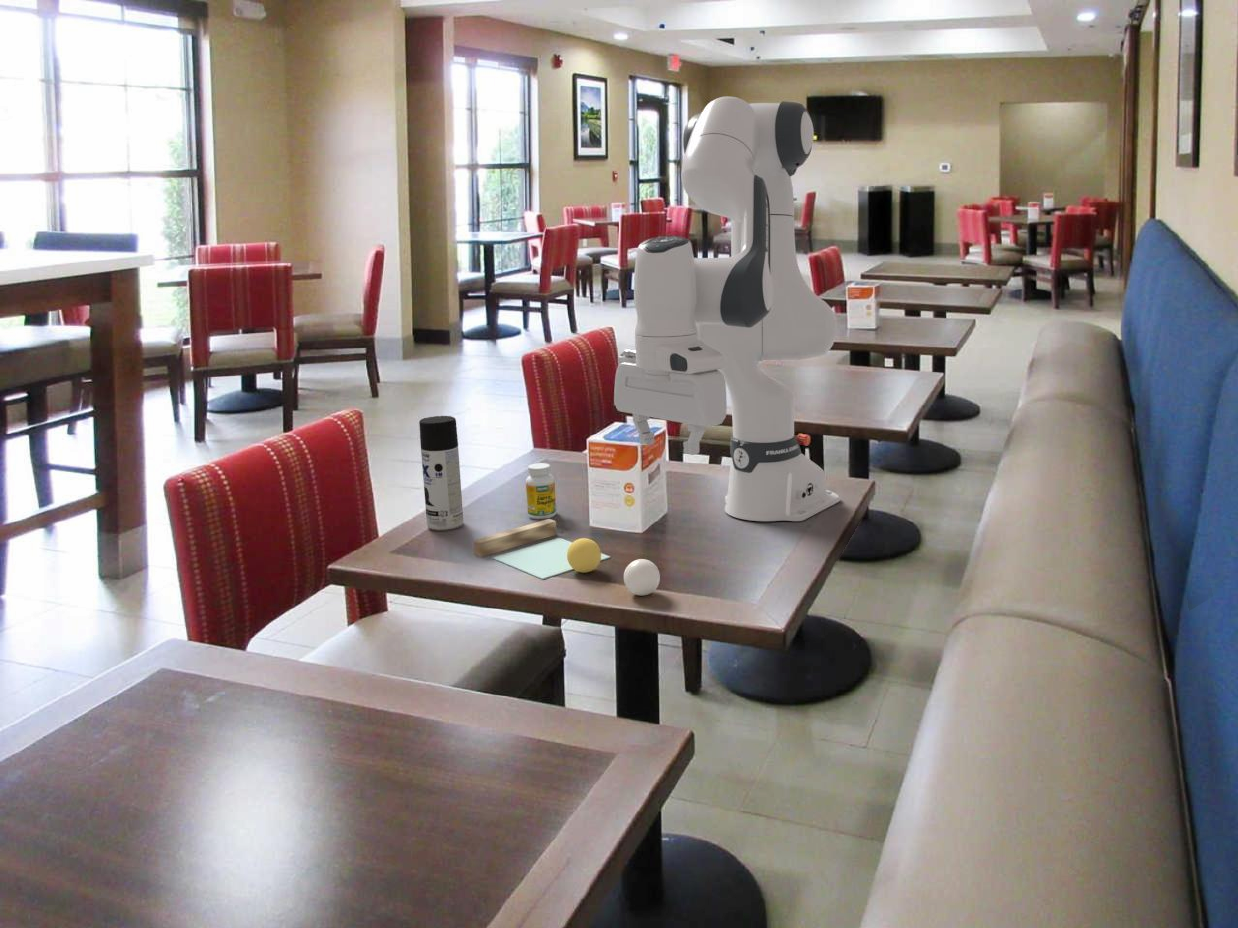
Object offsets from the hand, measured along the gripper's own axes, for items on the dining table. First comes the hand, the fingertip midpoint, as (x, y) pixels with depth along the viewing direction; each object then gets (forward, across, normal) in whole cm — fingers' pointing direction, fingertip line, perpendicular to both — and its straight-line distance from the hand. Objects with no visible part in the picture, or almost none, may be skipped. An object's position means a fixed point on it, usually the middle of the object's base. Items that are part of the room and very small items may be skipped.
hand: (668, 449), depth 168 cm
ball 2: (+20, -5, -1) cm, 21 cm away
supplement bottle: (+22, -48, +12) cm, 54 cm away
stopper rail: (+22, -38, -1) cm, 44 cm away
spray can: (+22, -56, -4) cm, 61 cm away
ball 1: (+20, -19, -1) cm, 28 cm away
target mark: (+23, -28, -1) cm, 36 cm away
